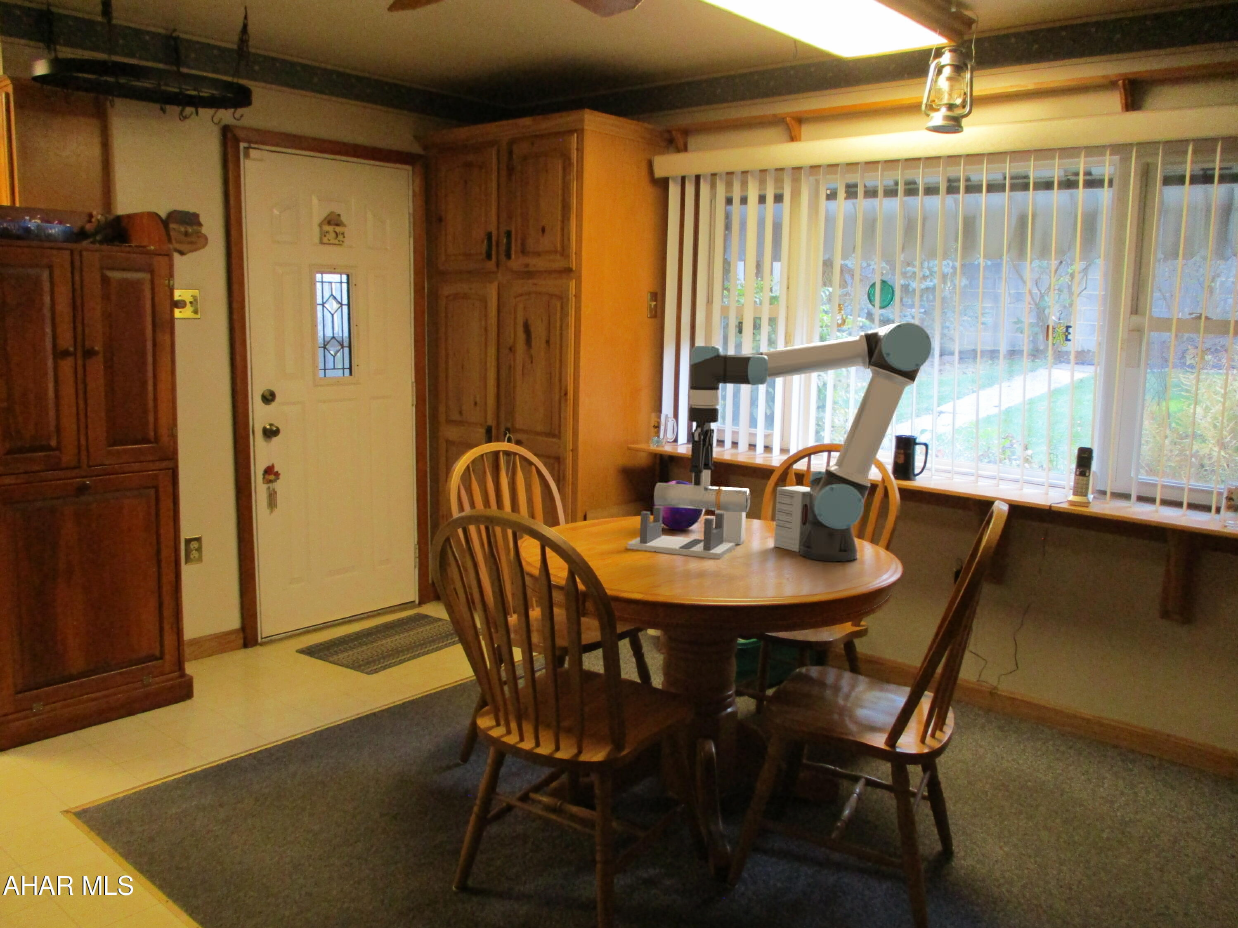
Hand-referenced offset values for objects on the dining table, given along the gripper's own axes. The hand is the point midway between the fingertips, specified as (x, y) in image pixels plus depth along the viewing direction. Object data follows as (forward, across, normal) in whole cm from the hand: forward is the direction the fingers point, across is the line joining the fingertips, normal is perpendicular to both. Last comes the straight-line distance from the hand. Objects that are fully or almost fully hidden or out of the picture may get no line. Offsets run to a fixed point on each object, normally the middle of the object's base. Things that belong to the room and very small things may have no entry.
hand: (700, 496), depth 248 cm
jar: (+17, -27, +2) cm, 32 cm away
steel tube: (0, 0, 0) cm, 0 cm away
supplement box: (+17, -28, +21) cm, 39 cm away
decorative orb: (+17, -38, -17) cm, 45 cm away
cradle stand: (+17, -11, -8) cm, 22 cm away
